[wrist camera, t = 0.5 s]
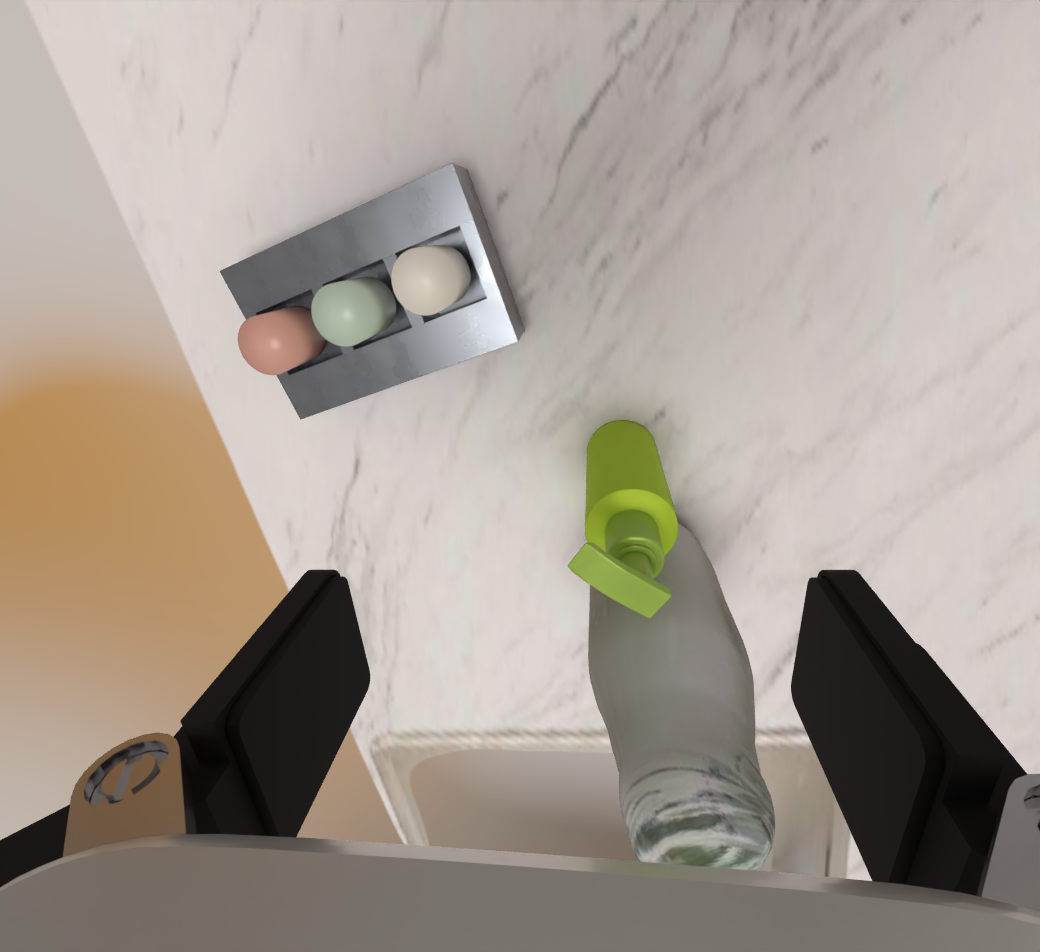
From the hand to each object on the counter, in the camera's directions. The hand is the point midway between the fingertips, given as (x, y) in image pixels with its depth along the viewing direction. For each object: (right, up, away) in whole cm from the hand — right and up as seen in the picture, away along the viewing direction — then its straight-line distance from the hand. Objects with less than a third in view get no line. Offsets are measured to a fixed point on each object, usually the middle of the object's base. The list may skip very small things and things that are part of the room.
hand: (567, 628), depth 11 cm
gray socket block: (-11, +17, +32) cm, 38 cm away
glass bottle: (+11, -3, +39) cm, 40 cm away
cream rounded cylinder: (-6, +17, +27) cm, 32 cm away
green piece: (-12, +16, +28) cm, 34 cm away
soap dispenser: (+7, +6, +35) cm, 36 cm away
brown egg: (-18, +14, +30) cm, 37 cm away
